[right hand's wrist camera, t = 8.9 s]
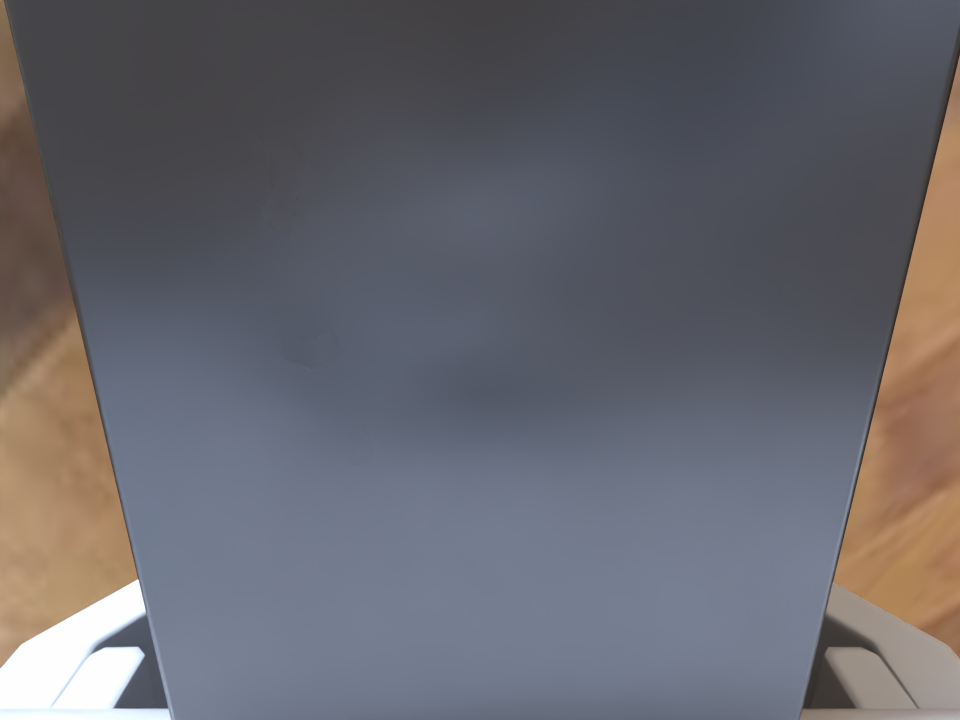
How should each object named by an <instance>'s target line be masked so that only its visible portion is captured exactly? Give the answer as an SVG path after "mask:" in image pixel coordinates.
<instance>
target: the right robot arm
mask: <svg viewBox="0 0 960 720" xmlns="http://www.w3.org/2000/svg"><path fill="white" fill-rule="evenodd" d="M0 720H171V718H170V713H169V709H168V705H167V700H166V696H165V692H164V688H163V683H162V679H161V675H160V670H159V666H158V662H157V657H156V653H155V649H154V644H153V640H152V636H151V632H150V627H149V623H148V619H147V614H146V610H145V606H144V601H143V597H142V593H141V588H140V584H139V580H136V581H134V582H133V583H131V584H129V585H127V586H125V587H124V588H122V589H120V590H118V591H116V592H115V593H113V594H111V595H109V596H107V597H106V598H104V599H102V600H100V601H98V602H97V603H95V604H93V605H91V606H89V607H88V608H86V609H84V610H82V611H80V612H79V613H77V614H75V615H73V616H71V617H70V618H68V619H66V620H64V621H62V622H61V623H59V624H57V625H55V626H53V627H52V628H50V629H48V630H46V631H44V632H43V633H41V634H39V635H37V636H35V637H34V638H32V639H30V640H28V641H27V642H25V643H23V644H21V645H20V647H19V648H18V649H17V650H16V651H15V652H14V654H13V655H12V656H11V657H10V658H9V659H8V661H7V662H6V663H5V664H4V665H3V666H2V668H1V669H0ZM800 720H960V659H959V657H958V656H957V655H956V654H955V653H954V652H953V651H952V649H951V648H950V647H949V646H948V645H946V644H945V643H943V642H941V641H939V640H937V639H936V638H934V637H932V636H930V635H928V634H927V633H925V632H923V631H921V630H919V629H918V628H916V627H914V626H912V625H910V624H908V623H907V622H905V621H903V620H901V619H899V618H898V617H896V616H894V615H892V614H890V613H889V612H887V611H885V610H883V609H881V608H880V607H878V606H876V605H874V604H872V603H870V602H869V601H867V600H865V599H863V598H861V597H860V596H858V595H856V594H854V593H852V592H851V591H849V590H847V589H845V588H843V587H842V586H840V585H838V584H836V583H834V582H833V584H832V588H831V592H830V596H829V600H828V605H827V609H826V613H825V617H824V621H823V625H822V630H821V634H820V638H819V642H818V646H817V650H816V654H815V659H814V663H813V667H812V671H811V675H810V679H809V684H808V688H807V692H806V696H805V700H804V704H803V709H802V713H801V717H800Z"/></svg>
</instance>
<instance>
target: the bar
mask: <svg viewBox="0 0 960 720" xmlns="http://www.w3.org/2000/svg"><path fill="white" fill-rule="evenodd" d="M4 2H5V6H6V11H7V15H8V19H9V24H10V28H11V32H12V37H13V41H14V45H15V50H16V54H17V58H18V62H19V67H20V71H21V75H22V80H23V84H24V88H25V93H26V97H27V101H28V106H29V110H30V114H31V119H32V123H33V127H34V131H35V136H36V140H37V144H38V149H39V153H40V157H41V162H42V166H43V170H44V175H45V179H46V183H47V187H48V192H49V196H50V200H51V205H52V209H53V213H54V218H55V222H56V226H57V231H58V235H59V239H60V244H61V248H62V252H63V256H64V261H65V265H66V269H67V274H68V278H69V282H70V287H71V291H72V295H73V300H74V304H75V308H76V313H77V317H78V321H79V325H80V330H81V334H82V338H83V343H84V347H85V351H86V356H87V360H88V364H89V369H90V373H91V377H92V381H93V386H94V390H95V394H96V399H97V403H98V407H99V412H100V416H101V420H102V425H103V429H104V433H105V438H106V442H107V446H108V450H109V455H110V459H111V463H112V468H113V472H114V476H115V481H116V485H117V489H118V494H119V498H120V502H121V506H122V511H123V515H124V519H125V524H126V528H127V532H128V537H129V541H130V545H131V550H132V554H133V558H134V563H135V567H136V571H137V575H138V580H139V584H140V588H141V593H142V597H143V601H144V606H145V610H146V614H147V619H148V623H149V627H150V632H151V636H152V640H153V644H154V649H155V653H156V657H157V662H158V666H159V670H160V675H161V679H162V683H163V688H164V692H165V696H166V700H167V705H168V709H169V713H170V718H171V720H800V717H801V713H802V709H803V704H804V700H805V696H806V692H807V688H808V684H809V679H810V675H811V671H812V667H813V663H814V659H815V654H816V650H817V646H818V642H819V638H820V634H821V630H822V625H823V621H824V617H825V613H826V609H827V605H828V600H829V596H830V592H831V588H832V584H833V580H834V575H835V571H836V567H837V563H838V559H839V555H840V550H841V546H842V542H843V538H844V534H845V530H846V525H847V521H848V517H849V513H850V509H851V505H852V501H853V496H854V492H855V488H856V484H857V480H858V476H859V471H860V467H861V463H862V459H863V455H864V451H865V446H866V442H867V438H868V434H869V430H870V426H871V421H872V417H873V413H874V409H875V405H876V401H877V396H878V392H879V388H880V384H881V380H882V376H883V372H884V367H885V363H886V359H887V355H888V351H889V347H890V342H891V338H892V334H893V330H894V326H895V322H896V317H897V313H898V309H899V305H900V301H901V297H902V292H903V288H904V284H905V280H906V276H907V272H908V267H909V263H910V259H911V255H912V251H913V247H914V243H915V238H916V234H917V230H918V226H919V222H920V218H921V213H922V209H923V205H924V201H925V197H926V193H927V188H928V184H929V180H930V176H931V172H932V168H933V163H934V159H935V155H936V151H937V147H938V143H939V138H940V134H941V130H942V126H943V122H944V118H945V114H946V109H947V105H948V101H949V97H950V93H951V89H952V84H953V80H954V76H955V72H956V68H957V64H958V59H959V55H960V0H4Z"/></svg>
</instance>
